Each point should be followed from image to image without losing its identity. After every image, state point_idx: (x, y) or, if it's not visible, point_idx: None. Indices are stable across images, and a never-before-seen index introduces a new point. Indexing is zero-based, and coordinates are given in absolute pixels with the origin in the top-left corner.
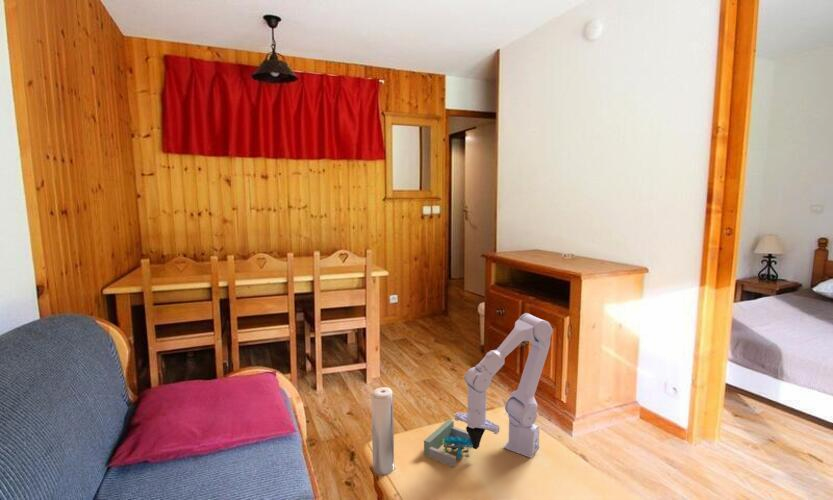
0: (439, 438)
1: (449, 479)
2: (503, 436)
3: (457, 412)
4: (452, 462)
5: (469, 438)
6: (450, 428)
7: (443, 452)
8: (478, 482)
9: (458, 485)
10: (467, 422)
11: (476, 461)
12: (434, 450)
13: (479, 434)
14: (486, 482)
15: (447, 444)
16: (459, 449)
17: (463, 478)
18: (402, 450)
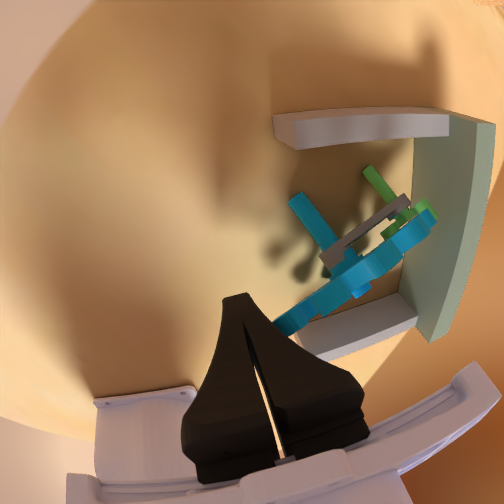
0: (443, 219)
1: (220, 16)
2: None
3: (481, 418)
4: (291, 116)
5: (299, 329)
6: (423, 308)
7: (381, 130)
8: (76, 129)
9: (143, 18)
10: (378, 464)
11: (210, 252)
12: (425, 114)
13: (182, 422)
14: (52, 166)
15: (397, 214)
16: (324, 234)
17: (160, 81)
18: (489, 89)
